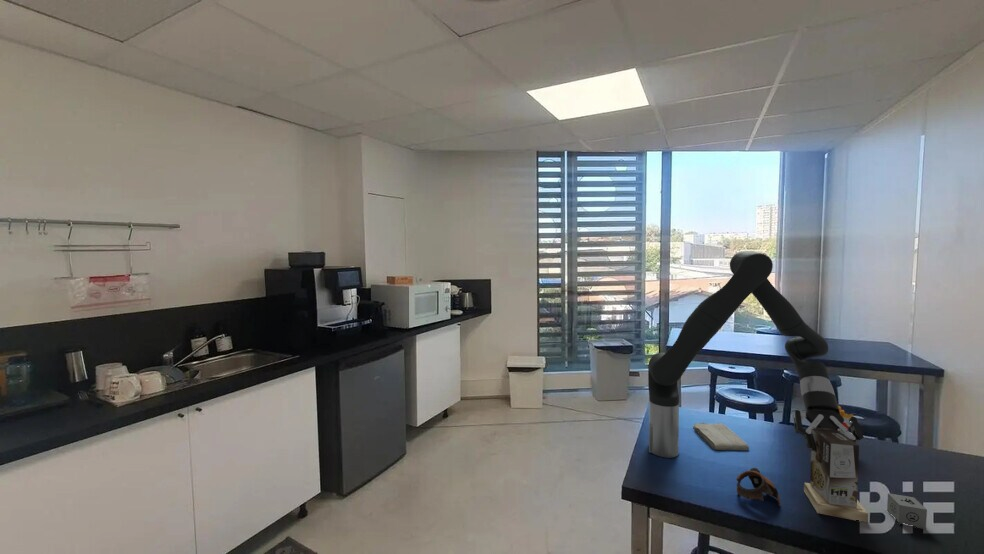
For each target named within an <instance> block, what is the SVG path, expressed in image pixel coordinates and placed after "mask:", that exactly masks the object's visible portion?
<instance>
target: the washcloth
mask: <svg viewBox="0 0 984 554" xmlns="http://www.w3.org/2000/svg"><path fill="white" fill-rule="evenodd" d="M692 427H693V429H694V431H696V433H697V435H699V436H700V437H701V439H703V440H704V441H705V442H706V443H707V444H708V445H709V446H710V447H711V448H712V449H713V450H717V451H727V450H729V451H732V450H733V451H748V450H750V446H749V445H748V443H747V442H746V441H744V440H743V439H742V438H741V437H740V436H738V434H737V433H735V432H734V431H732V430H731V429H730V428H729V427H728V426H727V425H725V423H721V422H719V423H708V422H706V423H705V422H700V423H699V422H697V423H696V422H695V423H694V425H693V426H692ZM698 432H699V433H698Z"/></svg>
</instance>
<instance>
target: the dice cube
mask: <svg viewBox="0 0 984 554" xmlns="http://www.w3.org/2000/svg"><path fill="white" fill-rule="evenodd" d="M887 511H888V512H889V513H890V514H892V515H893V516H894V517H895V518H896V519H897V521H898V522H901V523H905V524H908V525H913V526H916V527H917V528H916V527H915V528H916V529H923V530H926V529H927V514H928V509H927V508H926V507H925V506H924V505H923V504H922V503H921V502H920V501H918V500H917V498H915V497H913V496H908V495H902V494H901V495H900V494H895V493H890V492H889V493H887V504H886V512H887ZM888 512H887V513H888ZM889 513H888V514H889ZM890 514H889V515H890Z"/></svg>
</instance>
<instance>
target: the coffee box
mask: <svg viewBox="0 0 984 554" xmlns="http://www.w3.org/2000/svg"><path fill="white" fill-rule="evenodd" d="M811 430H812V433H811V435H813V439H814V443H815V450H814V451H811V450H810V475H809V476H810V477H809V478H810V482H809V483H810V485H811V486H812V487H813V488H814V489H815V490H816V491H817V492H818V493H819V494H820V495H821V496H822V497H823V498H824V499H825V500H826V501H827V502H828V503H829V504H835V505H843V506H850V507H857V500H858V489H859V487H858V486H859V485H858V481H859V465H860V464H859V463H860V462H859V461H860V458H859V457H860V445H859V444H858V442H856V443H855V442H854V441H852V440H851V439H849V438H848V437H846V436H845V435H843V434H842V433H841V432H839V431H838V430H827V429H816V428H815V429H811Z"/></svg>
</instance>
